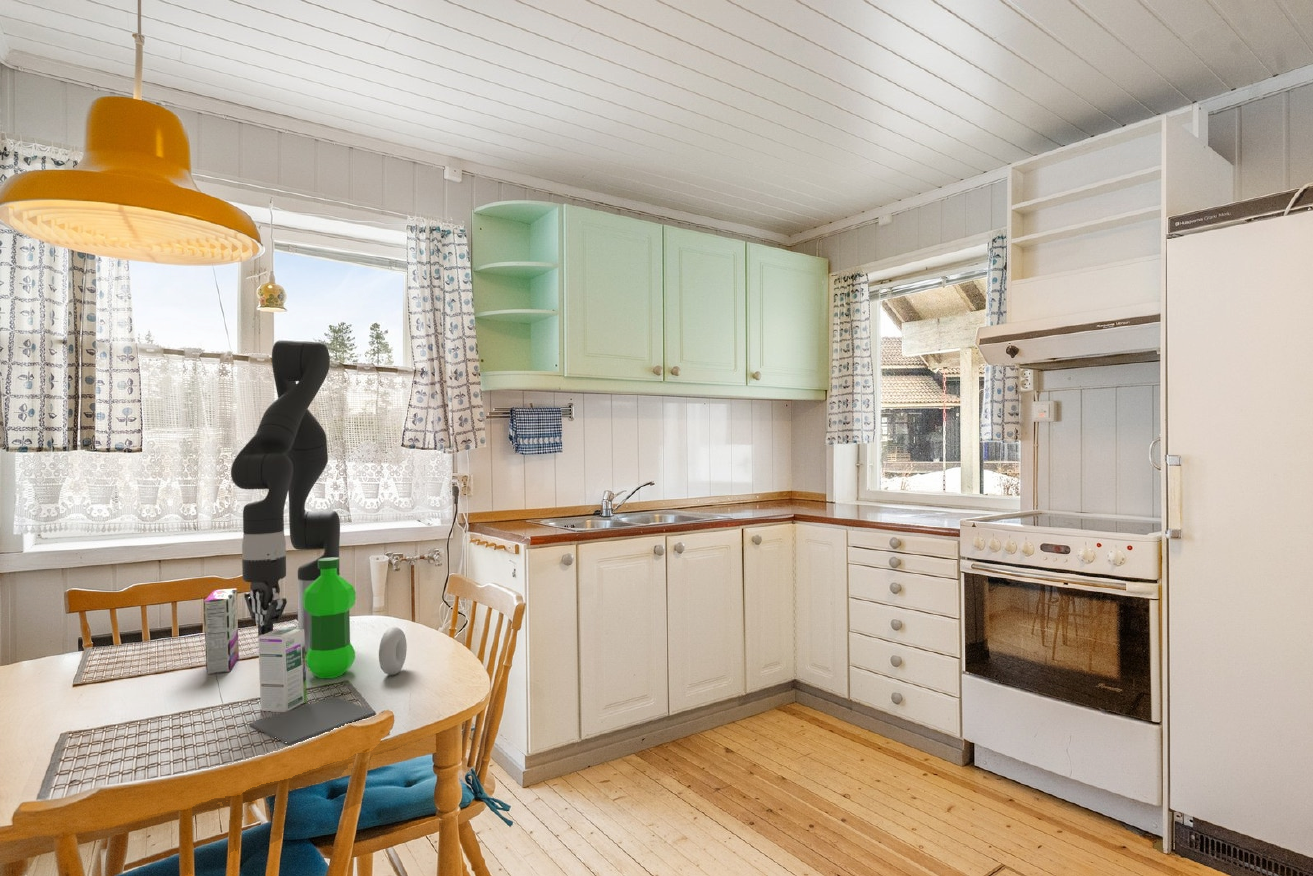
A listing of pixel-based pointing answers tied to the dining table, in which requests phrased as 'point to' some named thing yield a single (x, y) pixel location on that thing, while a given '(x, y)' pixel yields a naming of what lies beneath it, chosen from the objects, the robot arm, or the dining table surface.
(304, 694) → the syrup box
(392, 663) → the donut
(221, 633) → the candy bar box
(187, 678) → the dining table surface
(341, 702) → the mat
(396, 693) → the dining table surface
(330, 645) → the plastic bottle
